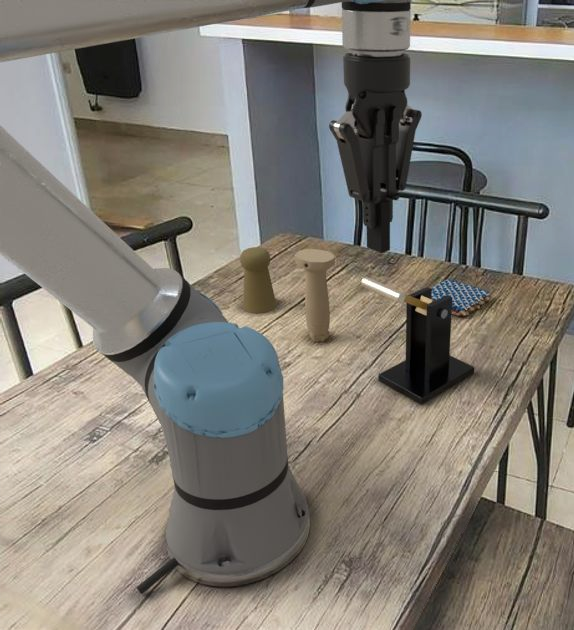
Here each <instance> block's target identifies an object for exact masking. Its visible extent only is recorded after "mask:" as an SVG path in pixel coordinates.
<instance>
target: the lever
mask: <svg viewBox="0 0 574 630" xmlns="http://www.w3.org/2000/svg"><path fill="white" fill-rule="evenodd" d="M360 284H361V286H362V287H363V288H365V289H367V290H369V291H372V292H373V293H376V294H377V295H381V296H383V297H385V298H387V299H390V300H392V301H394V302H396V303H399V304H403V303H406V304H407V303H408V304H411V305H414V306H416V310H415V311H417V312H419V313H421V314H424V315H426V316H427V304H429V303H431V302H434V300H432V299H429V298H427V297H424V296H421V298H420V300H418V299H416V298H413V297H411V296H408V295H409V294H406V293H404V292H403V291H401V290H399V289H396V288H394V287H392V286H389V285H387V284H385V283H382V282H381V281H378V280H376V279H373V278H371V277H369V276H364V277H363V278H362V280H361V283H360Z"/></svg>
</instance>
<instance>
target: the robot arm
mask: <svg viewBox="0 0 574 630" xmlns="http://www.w3.org/2000/svg"><path fill="white" fill-rule="evenodd" d="M411 2H412V0H0V63H5V62H9V61H10V62H11V61H16V60H21V59H22V60H23V59H27V58H33V57H38V56H43V55H45V56H46V55H49V54H55V53H61V52H67V51H72V50H78V49H82V48H88V47H94V46H100V45H105V44H111V43H117V42H123V41H128V40H133V39H139V38H143V37H150V36H155V35H161V34H167V33H172V32H178V31H183V30H189V29H196V28H200V27H206V26H210V25H217V24H223V23H228V22H233V21H238V20H245V19H250V18H255V17H261V16H266V15H273V14H279V13H284V12H288V11H289V12H290V11H296V10H301V9H310V8H315V7H316V8H317V7H323V6H329V5H334V4H339V3H340V4H341V36H342V38H341V39H342V47H343V48H344V49H346V50H347V52H345V53H344V55H343V57H342V58H343V59H342V61H343V62H342V65H343V84H344V87H345V88H346V91H347V94H348V96H347V99H346V103H345V109H344V110H345V113H344V114H343V115H342V116H341V117H340V118H339V120H335V119H334V120H331V121H330V122H329V124H328V129H329V130H330V132H331V133H332V135H333V137H334V139H335V140H336V144H337V148H338V152H339V157H340V161H341V166H342V171H343V175H344V179H345V183H346V187H347V192H348V193H347V194H348V196H349V197H350V198H353V199H355V200H359V201H361V202H362V222H363V225H364V227H366V248H367V249H370V250H372V251H375V252H378V253H380V254H383V253H387V252H389V251H391V223H392V222H393V218H394V201H398V200H399V199H400V197H401V194H399V193H398V192H399V191H401V192H403V191H405V189H406V187H407V183H408V176H409V169H410V165H411V161H412V160H411V159H412V155H413V148H414V142H415V136H416V132H417V129H418V127H419V124H420V121H421V119H422V114H423V113H422V111H421V110H419V109H414V108H412V107H411V106H409V105H408V97H407V95H406V91H405V90H407V89H408V88H410V85H411V57H410V56H409V54H408V53H405V51H407V50H409V48H410V47H411V9H412V5H411V4H412V3H411ZM0 256H2V257H3V258H4V259H5V260H7V261H8V262H9V263H10V264H12V265H13V266H14V267H15V268H17V269H18V270H19V271H20V272H22V273H23V274H25V276H27V277H28V278H29V279H30V280H32V281H33V282H34V283H35V284H37V285H38V286H39V287H41V288H42V289H43V290H44V291H46V292H47V293H49V294H50V296H52V297H53V298H55V299H56V300H57V301H58V302H60V303H61V304H62V305H63V306H65V307H66V308H67V309H69V310H70V311H71V312H73V313H74V314H75V315H76V316H77V317H79V318H80V320H82V321H83V322H85V323H86V324H88V325H89V327H91V328H92V345H93V347H94V348H95V350H96V351H97V352H99V353H100V354H102V355H103V356H104V357H105V358H106V359H108V360H109V361H110V362H111V363H112V364H114V365H115V366H117V367H118V368H119V369H121V370H122V371H123V372H125V373H126V374H127V375H128V376H130V377H131V378H132V379H133V380H134V381H135V382H136V383H137V384H139V386H140V387H141V389H142V390H143V392H144V394H145V397H146V398H147V401H148V402H149V405H150V406H151V408H152V410H153V412H154V415H155V417H156V419H157V421H158V423H159V424H160V426H161V429H162V432H163V435H164V438H165V439H164V440H165V444H166V448H167V453H168V459H169V465H170V470H171V474H172V475H171V476H172V479H173V485H174V490H173V493H172V499H171V503H170V507H169V512H168V517H167V520H166V524H165V528H164V538H165V539H164V540H165V545H166V549H167V555H168V557H169V560H168V561H167V562H165V563H164V564H163V565H161V566H160V567H159V568H158V569H156V570H155V571H154V572H153V573H152V574H151V575H149V576H147V578H146V579H144V580H143V581H142V582H141V583H139V584H138V585H137V586H136V589H137V591H138V592H139V593H140V595H143V594H144V593H146V592H147V591H149V590H150V589H151V587H153V586H154V585H155V584H156V583H157V582H159V581H160V580H161V579H162V578H164V577H165V576H166V575H167V574H169V573H170V572H171V571H173V570H174V569H175V570H177V571H178V572H179V573H180V574H181V575H182V576H184V577H185V578H187V579H189V580H191V581H192V582H194V583H197V584H201V585H206V586H210V587H222V588H224V587H237V586H243V585H248V584H252V583H256V582H258V581H261V580H263V579H266V578H268V577H270V576H272V575H274V574H276V573H277V572H279V571H280V570H282V569H284V568H285V567H286V566H288V565H289V564H290V563H291V562H292V561H294V560H295V558H296V557H297V556H298V555H299V554H300V552H301V551H302V549H303V548H304V546H305V544H306V542H307V540H308V537H309V533H310V530H311V529H310V527H311V520H310V507H309V502H308V501H307V498H306V496H305V494H304V493H303V490H302V489H301V487H300V485H299V483H298V481H297V479H296V477H295V476H294V474H293V472H292V470H291V468H290V467H289V466H290V465H289V457H288V456H289V455H288V442H287V428H286V417H285V415H286V414H285V403H284V402H285V401H284V375H283V373H282V368H281V365H280V361H279V356H278V353H277V351H276V349H275V347H274V345H273V344H272V342H271V341H270V339H268V338H267V337H266V336H265V335H263V334H262V333H261V332H259V331H258V330H256V329H254V328H251V327H249V326H242V327H239V325H238V324H237V323H235V322H229V321H228V320H227V318H226V317H225V316H224V314H223V312H222V311H221V309H220V308H219V306H218V305H217V304H216V302H214V301H213V300H212V298H210V297H209V296H208V295H206V294H204V293H202V292H200V290H199V289H196V288H195V287H194V286H193V285H192V284H190V283H189V282H188V280H187V279H185V278H184V277H183V276H182V275H181V274H180V273H179V272H178V271H176V270H175V269H173V268H170V267H162V268H161V267H160V268H159V267H158V268H153V267H152V266H151V265H150V264H149V263H148V262H147V261H146V260H145V259H143V258H142V257H141V256H140V255H139V254H138V253H137V252H136V251H135V250H134V249H133V248H132V247H131V246H130V245H129V244H127V242H125V240H123V239H122V238H121V237H120V236H119V235H118V234H117V233H116V232H115V231H114V230H113V229H112V228H111V227H109V226H108V225H107V224H106V223H105V222H104V221H103V220H102V219H101V218H100V217H98V215H96V213H95V212H93V210H91V209H90V208H89V207H88V206H87V205H86V204H85V203H84V202H83V201H82V200H80V199H79V198H78V197H77V196H76V195H75V194H74V193H73V192H72V191H71V190H70V189H69V188H68V187H67V186H65V184H63V182H62V181H60V180H59V179H58V178H57V177H56V176H55V175H54V174H53V173H52V172H51V171H50V170H49V169H48V168H46V166H44V165H43V164H42V163H41V162H40V161H39V160H38V159H37V158H36V157H35V156H34V155H32V154H31V153H30V152H29V151H28V150H27V149H26V148H25V147H24V146H23V145H22V144H21V143H20V142H19V141H18V140H16V139H15V138H14V136H12V135H11V134H10V133H9V132H8V131H7V130H6V129H5V128H4V127H3V126H2V125H0Z"/></svg>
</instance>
